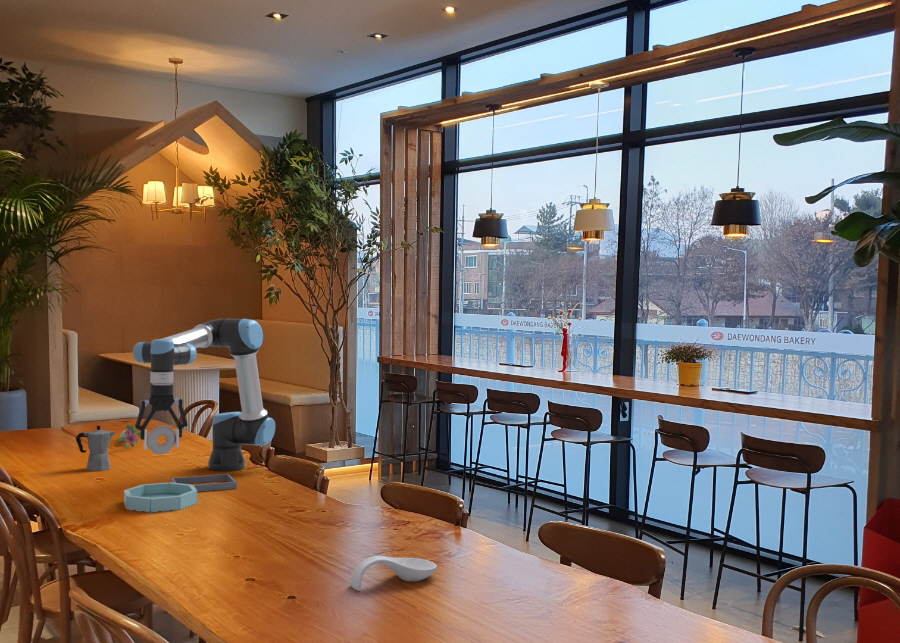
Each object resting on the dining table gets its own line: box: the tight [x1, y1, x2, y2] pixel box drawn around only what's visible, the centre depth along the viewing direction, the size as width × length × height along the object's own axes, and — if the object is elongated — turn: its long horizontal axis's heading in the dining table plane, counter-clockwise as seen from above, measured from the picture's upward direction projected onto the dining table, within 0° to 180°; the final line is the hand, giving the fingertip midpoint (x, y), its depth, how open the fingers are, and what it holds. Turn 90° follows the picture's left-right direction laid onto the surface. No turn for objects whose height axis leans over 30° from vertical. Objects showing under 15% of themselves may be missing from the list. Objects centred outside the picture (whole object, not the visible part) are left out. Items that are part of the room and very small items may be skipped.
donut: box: [147, 425, 176, 455], centre depth 287 cm, size 10×4×10 cm, turn 130°
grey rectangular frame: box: [170, 473, 238, 493], centre depth 314 cm, size 22×16×2 cm
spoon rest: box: [349, 555, 437, 592], centre depth 214 cm, size 24×12×7 cm, turn 125°
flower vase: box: [116, 424, 141, 450], centre depth 394 cm, size 12×12×35 cm
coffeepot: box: [75, 425, 116, 472], centre depth 340 cm, size 15×9×18 cm, turn 129°
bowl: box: [123, 481, 198, 513], centre depth 288 cm, size 23×23×4 cm
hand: (161, 448), depth 288 cm, fingers closed on donut, 10 cm apart
